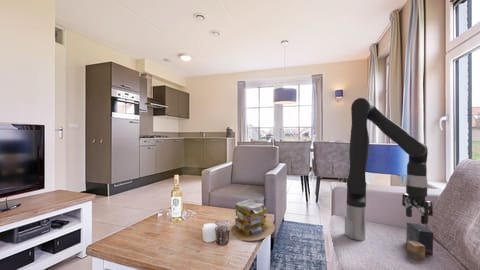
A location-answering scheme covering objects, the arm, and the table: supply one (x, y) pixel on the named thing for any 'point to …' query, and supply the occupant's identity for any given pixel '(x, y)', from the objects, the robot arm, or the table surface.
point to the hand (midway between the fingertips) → (416, 220)
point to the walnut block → (416, 250)
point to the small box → (420, 236)
